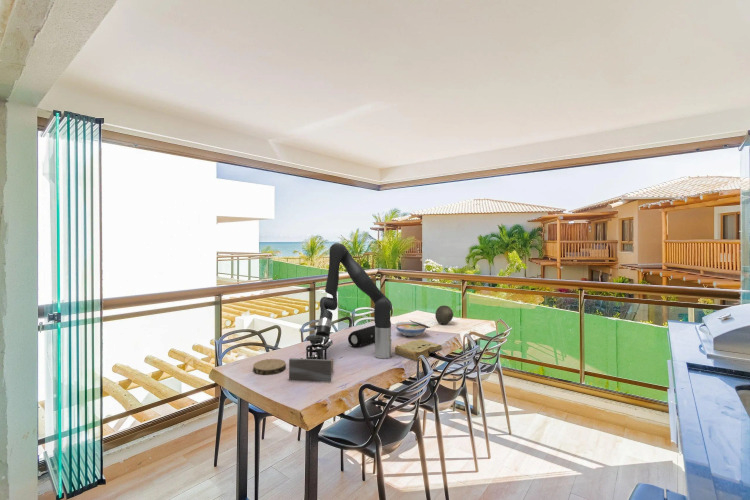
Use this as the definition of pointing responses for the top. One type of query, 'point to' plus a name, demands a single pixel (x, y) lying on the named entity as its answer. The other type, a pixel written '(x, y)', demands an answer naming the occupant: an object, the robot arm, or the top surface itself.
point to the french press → (316, 340)
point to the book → (417, 349)
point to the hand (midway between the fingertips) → (318, 356)
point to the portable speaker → (362, 336)
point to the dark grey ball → (444, 314)
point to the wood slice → (269, 366)
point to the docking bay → (310, 369)
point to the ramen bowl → (411, 328)
